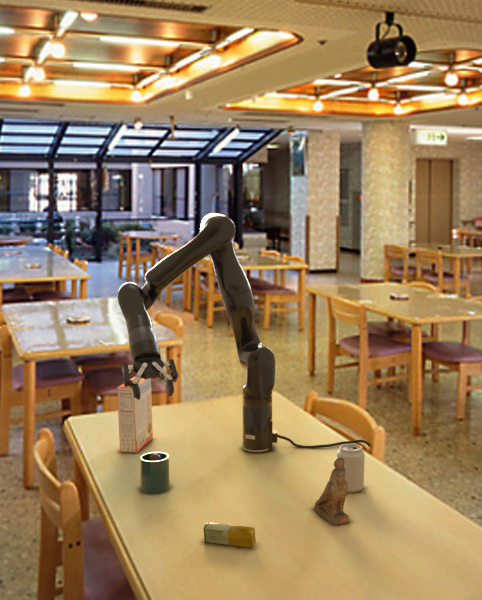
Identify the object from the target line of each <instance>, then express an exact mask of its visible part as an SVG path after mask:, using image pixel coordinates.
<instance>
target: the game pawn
mask: <svg viewBox="0 0 482 600" xmlns="http://www.w3.org/2000/svg"><path fill="white" fill-rule="evenodd" d="M159 460H161V456H160V455H159V454H157V453H154V454H152V455H151V456H150V458H149V461H159Z"/></svg>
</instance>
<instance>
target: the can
mask: <svg viewBox="0 0 482 600" xmlns="http://www.w3.org/2000/svg"><path fill="white" fill-rule="evenodd" d="M365 454H366V453H365V451H364V450H363V446H362V445H360V444H359V443H358V444H357V443H351V444H341V445H339V449H338V450H337V451H336V459H338V458H343V459H344V460H345V462H344V468H345V471H346V472H345V480H346V482H347V484H348V492H347V494H348V493H349V494H350V493H351V494H352V493H358V492H360V491H361V490H362V489H363V488H364V486H365Z"/></svg>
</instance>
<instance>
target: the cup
mask: <svg viewBox="0 0 482 600" xmlns="http://www.w3.org/2000/svg"><path fill="white" fill-rule="evenodd" d="M154 453H157V454H159V455H160V456H161V460H159V461H149V458H150V456H151V455H152V454H154ZM139 480H140V481H139V482H140V483H139V484H140V491H141V492H142V493H144V494H147V495H148V494H149V495H156V494H162V493H165V492H167V491H169V489H170V483H171V482H170V454H168V453H166V452H162V451H152V452H151V451H150V452H146V453H143V454H142V455H140V457H139Z"/></svg>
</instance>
